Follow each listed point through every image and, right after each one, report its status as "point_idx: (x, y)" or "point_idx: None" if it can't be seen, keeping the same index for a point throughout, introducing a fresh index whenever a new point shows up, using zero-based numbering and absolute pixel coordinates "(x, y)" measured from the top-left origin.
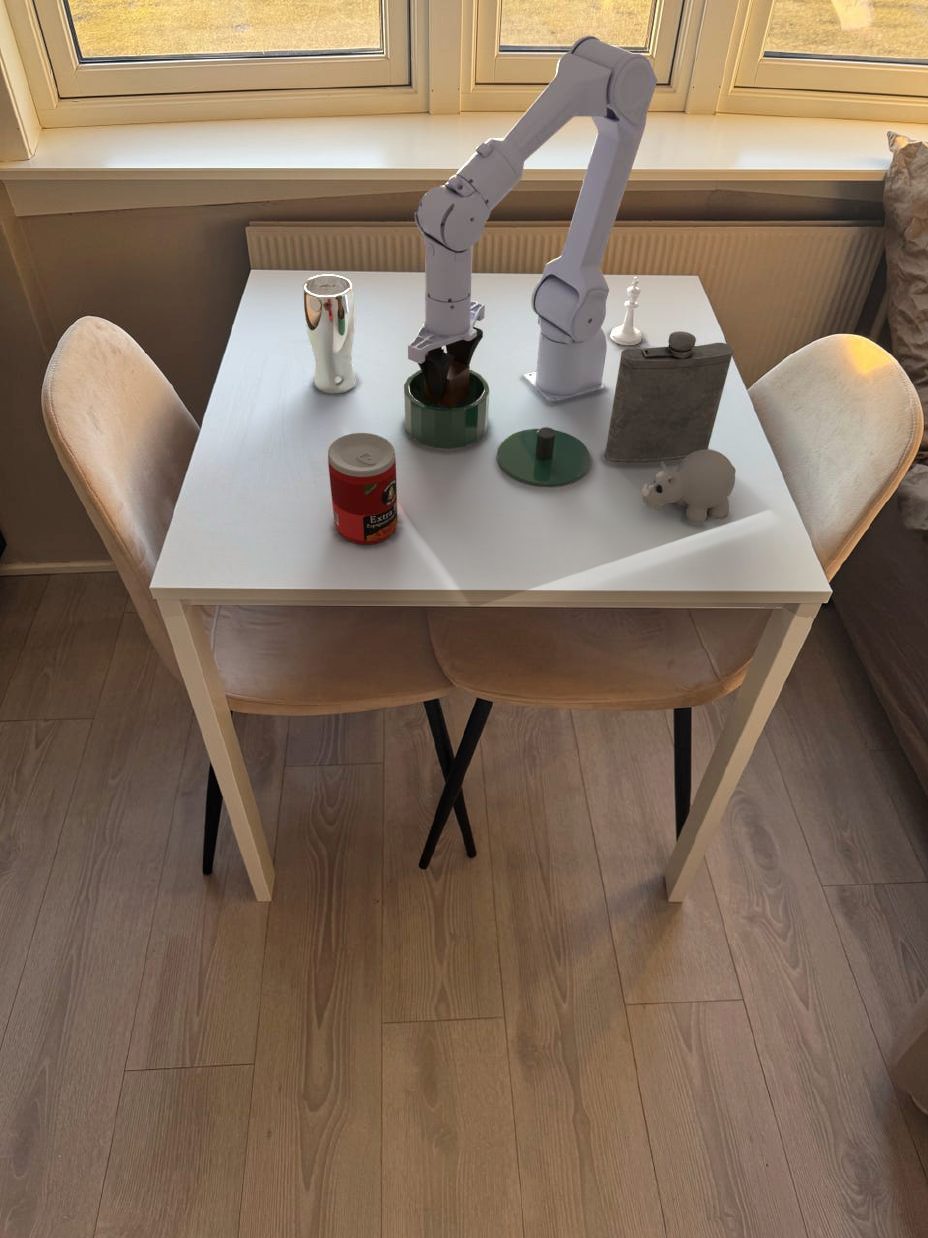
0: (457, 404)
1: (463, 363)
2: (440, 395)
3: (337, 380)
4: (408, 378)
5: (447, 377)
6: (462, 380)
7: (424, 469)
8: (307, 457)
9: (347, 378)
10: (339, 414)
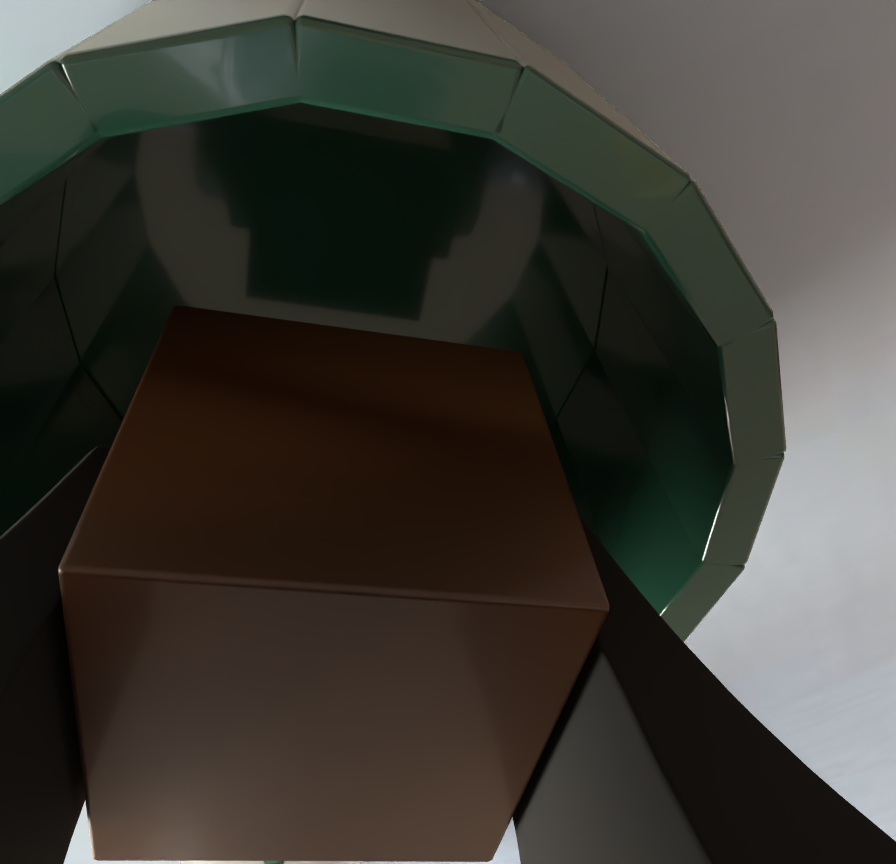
0: (72, 351)
1: (58, 653)
2: None
3: (335, 862)
4: None
5: (563, 662)
6: (307, 474)
7: (854, 228)
8: (824, 691)
9: None
10: None
